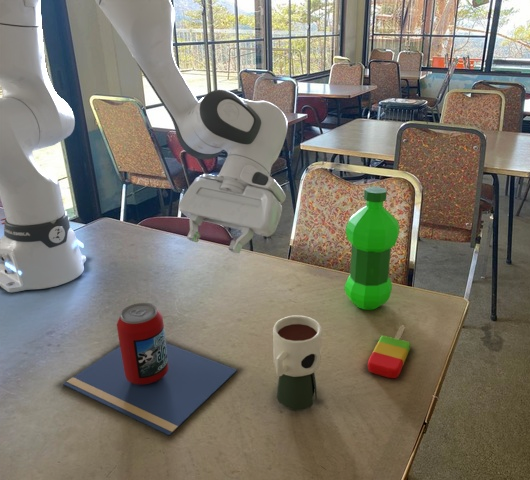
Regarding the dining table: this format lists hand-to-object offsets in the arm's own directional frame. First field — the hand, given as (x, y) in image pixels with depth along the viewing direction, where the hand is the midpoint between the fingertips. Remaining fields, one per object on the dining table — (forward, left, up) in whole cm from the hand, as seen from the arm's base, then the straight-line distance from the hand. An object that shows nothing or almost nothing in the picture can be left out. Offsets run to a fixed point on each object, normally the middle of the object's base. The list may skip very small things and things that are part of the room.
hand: (212, 245), depth 87 cm
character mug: (+24, -11, -16) cm, 31 cm away
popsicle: (+33, +7, -16) cm, 38 cm away
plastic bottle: (+23, +21, -16) cm, 35 cm away
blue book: (+1, -18, -16) cm, 24 cm away
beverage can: (0, -18, -16) cm, 24 cm away
